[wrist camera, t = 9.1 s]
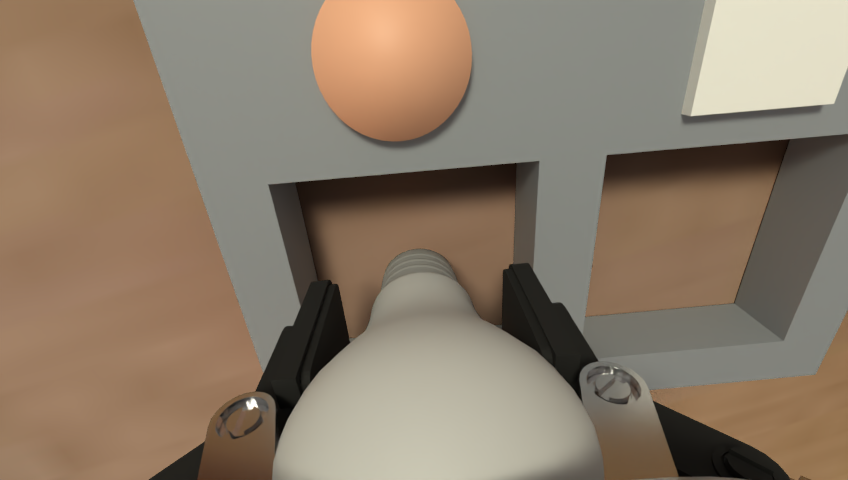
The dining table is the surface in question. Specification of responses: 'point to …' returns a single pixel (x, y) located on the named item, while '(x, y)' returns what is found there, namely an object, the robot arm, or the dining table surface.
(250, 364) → the dining table surface
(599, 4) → the socket board
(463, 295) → the lightbulb
